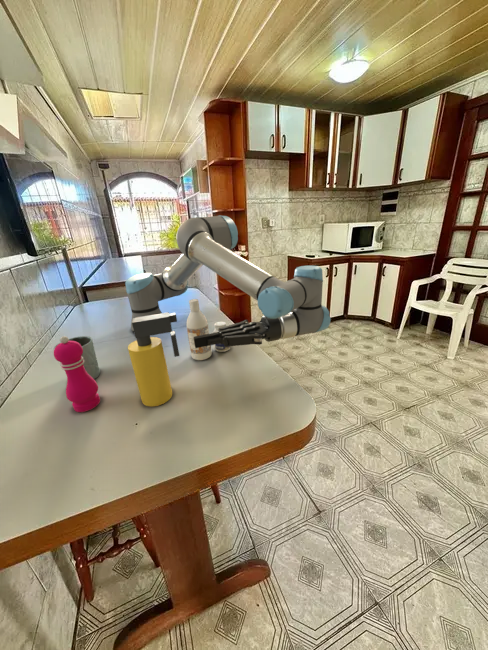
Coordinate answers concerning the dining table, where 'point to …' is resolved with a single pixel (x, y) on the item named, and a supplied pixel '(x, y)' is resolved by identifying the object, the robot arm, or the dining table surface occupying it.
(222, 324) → the pill bottle
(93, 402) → the pepper mill
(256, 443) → the dining table surface
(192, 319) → the bath foam
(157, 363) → the spray bottle
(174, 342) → the trigger
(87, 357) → the gray cup
